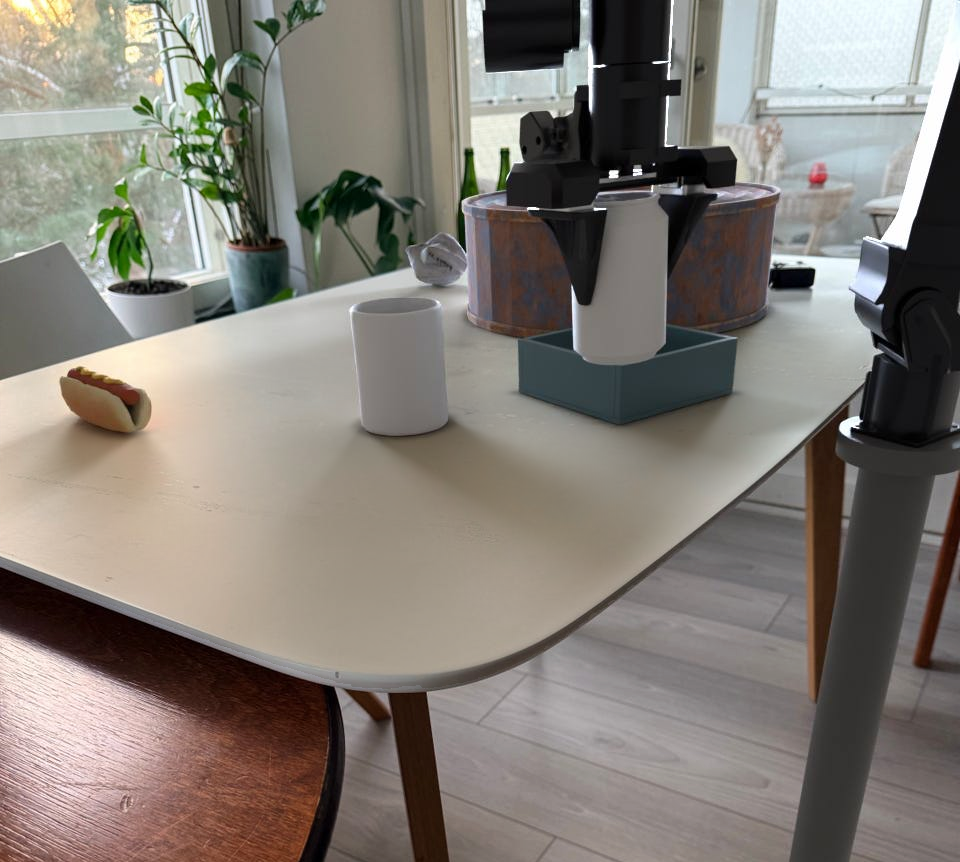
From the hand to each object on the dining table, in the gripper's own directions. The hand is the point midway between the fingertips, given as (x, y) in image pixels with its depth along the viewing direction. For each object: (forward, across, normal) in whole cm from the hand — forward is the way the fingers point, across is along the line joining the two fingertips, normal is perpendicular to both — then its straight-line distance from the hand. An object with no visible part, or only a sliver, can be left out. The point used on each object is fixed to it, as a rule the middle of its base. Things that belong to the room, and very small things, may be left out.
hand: (621, 297), depth 72 cm
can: (+5, 0, 0) cm, 5 cm away
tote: (+13, -13, -13) cm, 23 cm away
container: (+13, -43, -46) cm, 64 cm away
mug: (+13, +8, -22) cm, 26 cm away
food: (+13, +31, -42) cm, 54 cm away
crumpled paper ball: (+13, -37, -84) cm, 93 cm away
